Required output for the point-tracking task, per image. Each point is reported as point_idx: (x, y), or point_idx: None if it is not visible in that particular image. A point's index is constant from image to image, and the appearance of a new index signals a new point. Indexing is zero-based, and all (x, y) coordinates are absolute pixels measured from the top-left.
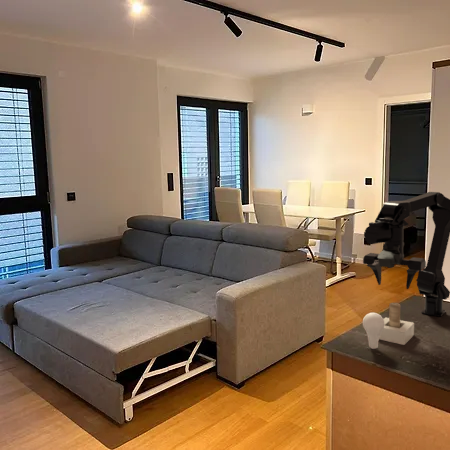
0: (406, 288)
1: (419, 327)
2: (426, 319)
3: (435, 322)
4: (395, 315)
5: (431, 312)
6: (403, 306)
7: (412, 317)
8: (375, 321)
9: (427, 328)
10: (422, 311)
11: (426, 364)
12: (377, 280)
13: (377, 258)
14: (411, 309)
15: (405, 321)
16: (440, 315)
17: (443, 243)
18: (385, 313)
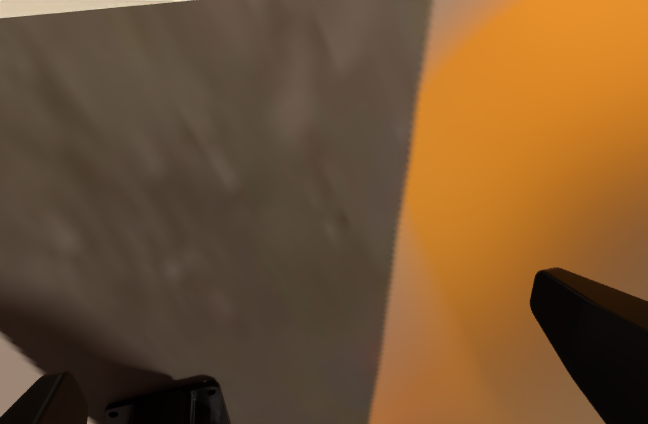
0: (66, 374)
1: (85, 191)
2: (143, 331)
3: (71, 326)
4: None
5: (151, 403)
6: (343, 395)
7: (225, 306)
8: None
9: (33, 210)
10: (217, 395)
11: None
12: (630, 300)
13: None
14: (291, 390)
15: (37, 5)
16: (105, 411)
17: None
18: (382, 260)
